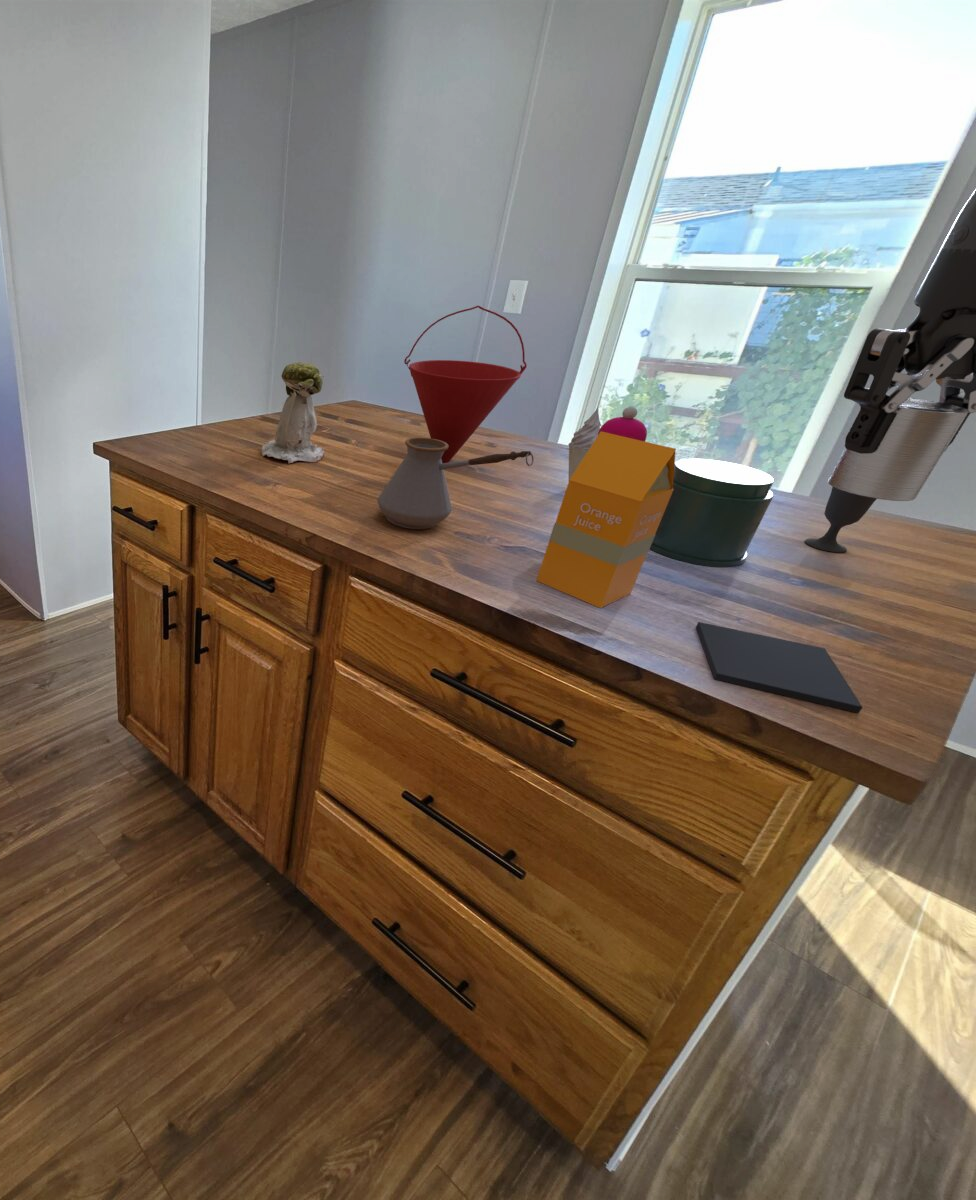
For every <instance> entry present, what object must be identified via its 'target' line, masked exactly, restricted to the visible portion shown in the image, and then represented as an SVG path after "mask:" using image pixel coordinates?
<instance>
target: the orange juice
mask: <svg viewBox="0 0 976 1200" xmlns="http://www.w3.org/2000/svg"><path fill="white" fill-rule="evenodd" d="M676 450H677V448H674V447H670V446H665V445H661V444H657V443H654V442H649V441H645V442H644V441H640V440H636V439H631V438H627V437H623V436H619V435H614V434H610V433H606V432H600V433H599V435H598V437H597V438H596V440H595V441H594V443H593V444H592V446H591V447H590V449H589V450H588V452H587V453H586V455H585V456H584V458H583V460H582V461H581V463H580V464H579V466H578V467H577V469H576V470H575V472H574V473H573V475H572V476H571V478H570V479H569V478H568V482H569V483H567V485H566V486H567V487H566V489H565V492H564V496H563V499H562V501H561V504H560V508H559V511H558V514H557V517H556V519H555V522H554V524H553V527H552V530H551V533H550V536H549V539H548V544H547V547H546V549H545V553H544V557H543V560H542V563H541V566H540V568H539V572H538V575H537V577H536V582H537V583H541V584H544V585H546V586H548V587H550V588H552V589H554V590H557V591H559V592H562V593H564V594H567V595H569V596H571V597H574V598H576V599H578V600H580V601H583V602H586V603H588V604H590V605H593V606H595V607H596V608H599V609H602V608H604V607H605V606H608V605H610V604H612V603H614V602H617V601H618V600H620V599H623V598H624V597H627V596H629V595H631V593H632V592H633V589H634V586H635V584H636V581H637V579H638V577H639V574H640V572H641V570H642V567H643V565H644V562H645V560H646V557H647V555H648V553H649V551H650V550H651V549H650V547H651V544H652V542H653V539H654V537H655V535H656V534H655V533H656V531H657V528H658V526H659V524H660V521H661V519H662V516H663V514H664V512H665V509H666V507H667V504H668V502H669V499H670V497H671V495H672V492H673V490H674V489H673V478H674V465H675V462H676Z"/></svg>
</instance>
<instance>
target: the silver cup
mask: <svg viewBox="0 0 976 1200" xmlns="http://www.w3.org/2000/svg"><path fill="white" fill-rule="evenodd" d="M891 413H894V414H895V415H894V417H893V419H892V421H891V423H890V424H889V426H888V428H887V430H886V432H885V433H884V435H883V437H882V439H881V441H880V442H879V444H878V446H877V448H876V450H875V451H874V452H873V453H870V454H861V453H857V452H854V451H851V450H848V449H846V448H845V447H844V449H843V451H842V453H841V455H840V457H839V459H838V461H837V463H836V465H835V466H834V468H833V470H832V472H831V474H830V476H829V478H828V479H827V484H829V485H830V486H831V487H832V486H833V487H835V488H837V489H840V490H843V491H846V492H849V493H853V494H856V495H860V496H865V497H870V498H876V500H881V501H882V500H884V501H891V502H892V501H894V502H909V501H914V500H916V499H917V497H918V495H919V494H920V492H921V491H922V489H923V487H924V485H925V484H926V482H927V481H928V480H929V477H931V474H932V473H933V471H934V469H935V467H937V465H938V462H939V461H940V459H941V457H942V456H943V455H944V453H945V452H946V451H945V449H946V448H947V446H948V445H949V443H950V441H951V440H952V438H953V436H954V435H955V433H956V431H957V430H958V428H959V427H960V425H961V423H962V422H963V420H964V418H965V417H966V415H967V413H968V410H967V409H965V408H962V407H959V406H956V405H951V404H947V403H941V402H939V401H935V400H929V399H921V398H913V397H912V398H911V397H909V398H908V399H907V400H906V401H905V402H904V403H903V404H901V405H900V406H899V407H898V408H897V409H896V410H895V411H893V412H891ZM949 446H950V445H949ZM949 446H948V447H949ZM947 449H948V448H947ZM947 449H946V450H947ZM944 451H945V452H944Z"/></svg>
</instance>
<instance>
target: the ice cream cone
mask: <svg viewBox="0 0 976 1200" xmlns="http://www.w3.org/2000/svg"><path fill="white" fill-rule="evenodd" d="M583 423H584V424H583V425H582V427H580V428H579V429H578V430H577V431H575V432H574V433H573V437H572V438H571V440H570V442H569V443H568V480H569V479H570V478H571V476H572V475H573V473H574V472H575V470H576V469H577V467H578V466H579V464H580V463H581V461H582V460H583V458H584V456H585V455H586V453H587V452H588V450H589V449H590V447H591V446H592V444H593V443H594V441H595V440H596V438H597V436H598V432H599V430H600V428H601V427H602V424H601V420H600V412H599V407H597V408H596V409H595V411H594V412H593V413H592V414H591V415H590V417H589V418H588V419H587V420H585V421H584V422H583ZM568 483H569V481H568ZM568 483H567V484H568Z"/></svg>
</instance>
